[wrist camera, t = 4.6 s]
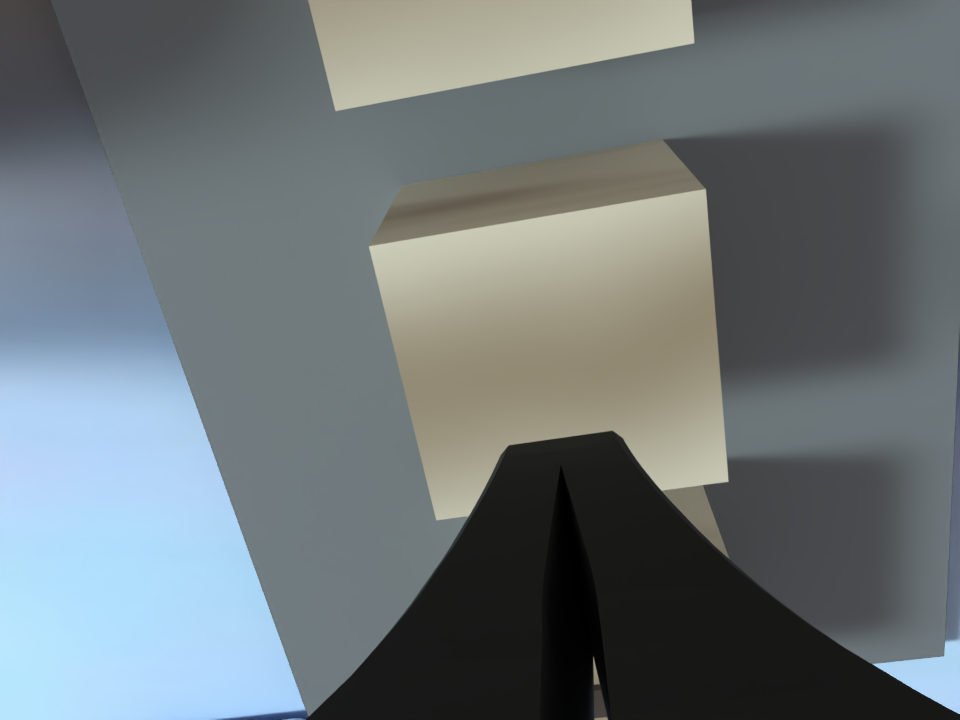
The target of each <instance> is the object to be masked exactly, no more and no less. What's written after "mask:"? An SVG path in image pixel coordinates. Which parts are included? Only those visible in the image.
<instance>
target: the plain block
mask: <svg viewBox="0 0 960 720" xmlns="http://www.w3.org/2000/svg"><path fill="white" fill-rule="evenodd" d="M369 249H370V253H371V257H372V261H373V265H374V269H375V273H376V277H377V282H378V286H379V290H380V294H381V298H382V302H383V306H384V310H385V314H386V318H387V322H388V326H389V330H390V334H391V338H392V342H393V346H394V351H395V355H396V359H397V363H398V367H399V371H400V375H401V379H402V383H403V387H404V391H405V395H406V399H407V403H408V407H409V411H410V415H411V420H412V424H413V428H414V432H415V436H416V440H417V444H418V448H419V452H420V456H421V460H422V464H423V468H424V472H425V476H426V480H427V484H428V488H429V493H430V497H431V501H432V505H433V509H434V513H435V517H436V520H443V519H450V518H458V517H465V516H469V515H470V514H471V512H472V510H473V508H474V507H475V505H476V503H477V501H478V499H479V497H480V496H481V494H482V492H483V490H484V488H485V486H486V484H487V482H488V480H489V478H490V476H491V474H492V472H493V470H494V468H495V466H496V464H497V462H498V460H499V457H500V455H501V454H502V453H503V451H504V450H505V449H506V448H507V447H508V445H514V444H521V443H528V442H535V441H542V440H550V439H557V438H564V437H571V436H578V435H585V434H592V433H599V432H606V431H614V432H615V433H617V434H618V435H619V436H621V437H622V438H623V439H624V441H625V443H626V444H627V446H628V448H629V449H630V451H631V452H632V454H633V455H634V457H635V458H636V460H637V461H638V462H639V464H640V465H641V466H642V468H643V469H644V470H645V471H646V473H647V474H648V475H649V476H650V478H651V479H652V480H653V481H654V482H655V484H656V485H657V486H658V487H659V488H660V490H661V491H662V490H669V489H677V488H685V487H692V486H700V485H707V484H715V483H722V482H729V481H728V468H727V455H726V442H725V430H724V417H723V404H722V391H721V378H720V365H719V352H718V339H717V327H716V314H715V301H714V288H713V275H712V262H711V249H710V236H709V224H708V211H707V198H706V189H705V188H704V186H703V185H702V184H701V183H700V182H699V181H698V180H697V178H696V177H695V176H694V175H693V174H692V173H691V171H690V170H689V169H688V168H687V167H686V166H685V165H684V163H683V162H682V161H681V160H680V159H679V158H678V157H677V155H676V154H675V153H674V152H673V151H672V150H671V149H670V147H669V146H668V145H667V144H666V143H665V142H664V141H663V139H662V140H656V141H651V142H645V143H639V144H634V145H628V146H623V147H617V148H611V149H606V150H600V151H594V152H589V153H583V154H578V155H572V156H566V157H561V158H555V159H549V160H544V161H538V162H532V163H527V164H521V165H516V166H510V167H504V168H499V169H493V170H487V171H482V172H476V173H471V174H465V175H459V176H454V177H448V178H442V179H437V180H431V181H425V182H420V183H414V184H409V185H403V186H401V188H400V190H399V191H398V193H397V195H396V197H395V199H394V201H393V203H392V204H391V206H390V208H389V210H388V212H387V214H386V216H385V217H384V219H383V221H382V223H381V225H380V227H379V228H378V230H377V232H376V234H375V236H374V238H373V240H372V241H371V243H370V245H369Z"/></svg>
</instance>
